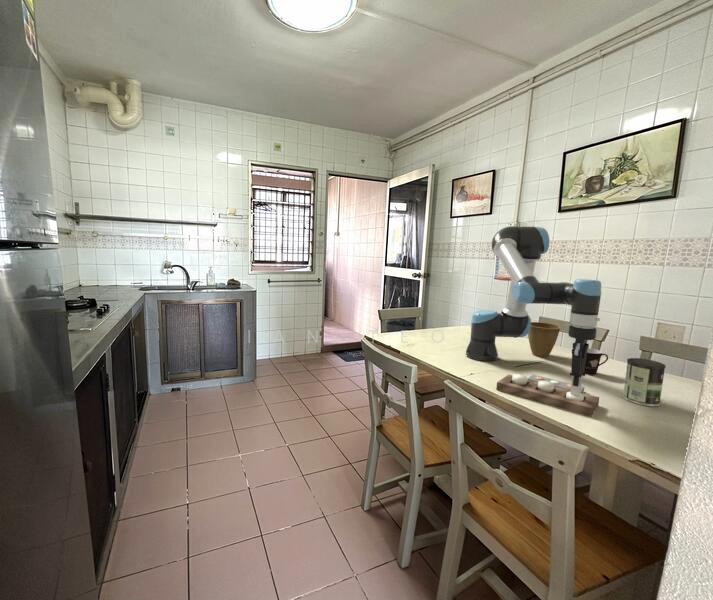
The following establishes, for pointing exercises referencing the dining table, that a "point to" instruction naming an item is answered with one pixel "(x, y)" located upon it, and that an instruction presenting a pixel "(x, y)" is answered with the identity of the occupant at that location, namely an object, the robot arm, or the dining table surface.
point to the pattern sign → (554, 382)
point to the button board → (549, 396)
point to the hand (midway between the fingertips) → (575, 394)
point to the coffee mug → (593, 361)
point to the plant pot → (542, 338)
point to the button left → (519, 379)
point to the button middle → (546, 386)
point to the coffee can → (644, 381)
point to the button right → (575, 397)
